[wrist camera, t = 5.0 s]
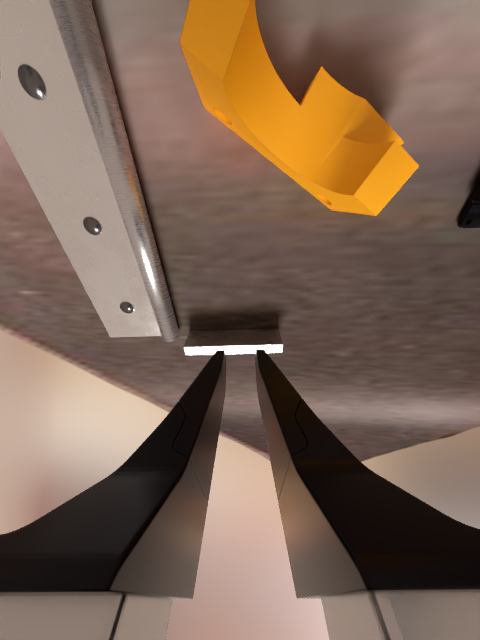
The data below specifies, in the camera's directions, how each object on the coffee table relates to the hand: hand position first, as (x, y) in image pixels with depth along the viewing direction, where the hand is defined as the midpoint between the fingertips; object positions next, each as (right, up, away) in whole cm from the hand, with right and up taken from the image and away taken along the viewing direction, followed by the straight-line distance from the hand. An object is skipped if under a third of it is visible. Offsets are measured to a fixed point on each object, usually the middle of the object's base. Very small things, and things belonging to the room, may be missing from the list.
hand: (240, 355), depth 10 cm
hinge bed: (-6, +10, +7) cm, 14 cm away
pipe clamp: (+4, +16, +4) cm, 17 cm away
